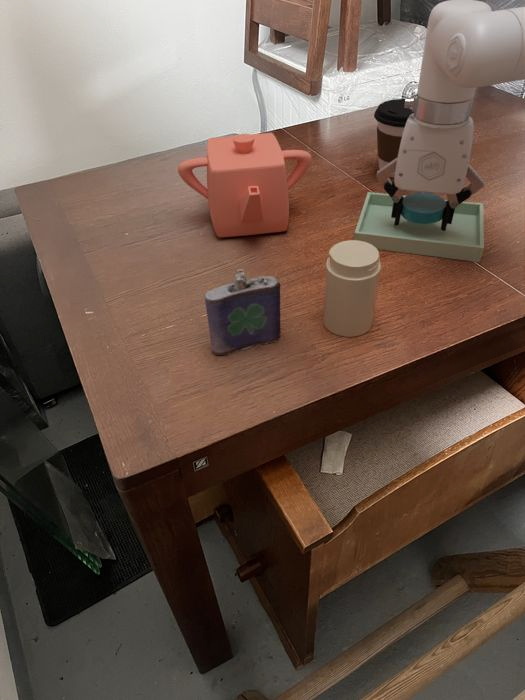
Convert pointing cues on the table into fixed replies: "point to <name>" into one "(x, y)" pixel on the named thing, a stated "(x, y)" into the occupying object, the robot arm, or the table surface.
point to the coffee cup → (390, 129)
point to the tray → (422, 231)
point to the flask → (243, 313)
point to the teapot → (246, 183)
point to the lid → (423, 208)
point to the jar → (351, 288)
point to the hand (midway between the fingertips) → (420, 223)
